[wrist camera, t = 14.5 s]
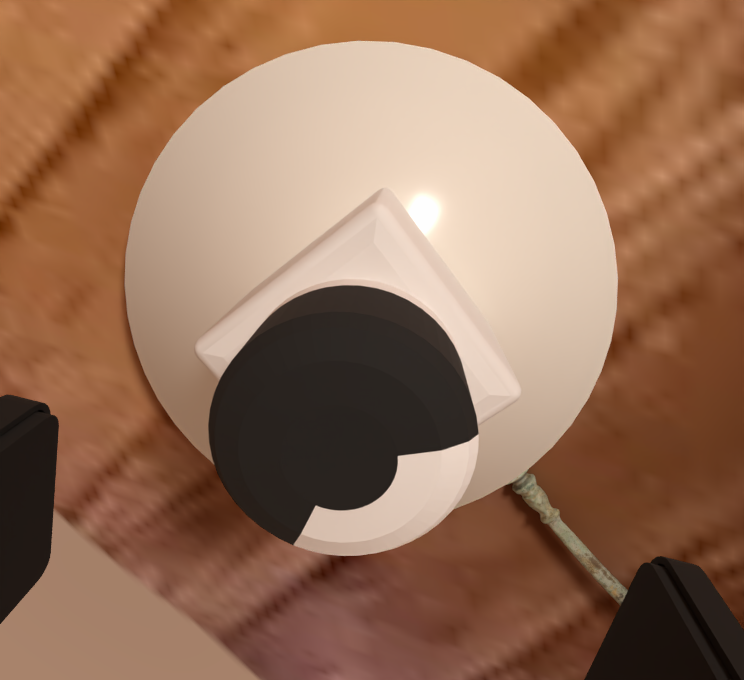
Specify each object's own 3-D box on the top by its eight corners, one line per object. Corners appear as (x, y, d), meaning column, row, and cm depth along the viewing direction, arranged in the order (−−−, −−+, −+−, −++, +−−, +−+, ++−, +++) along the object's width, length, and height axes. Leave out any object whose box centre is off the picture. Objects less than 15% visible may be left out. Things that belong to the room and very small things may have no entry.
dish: (685, 120, 22) (701, 118, 21) (519, 547, 28) (524, 564, 27) (167, -14, 21) (153, -24, 20) (116, 451, 28) (103, 464, 26)
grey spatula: (698, 744, 33) (800, 684, 32) (734, 808, 30) (849, 744, 28) (455, 497, 28) (565, 414, 26) (466, 542, 25) (593, 450, 23)
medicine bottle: (247, 292, 24) (101, 425, 12) (386, 183, 22) (369, 217, 11) (355, 421, 25) (315, 645, 14) (492, 326, 23) (577, 493, 12)
